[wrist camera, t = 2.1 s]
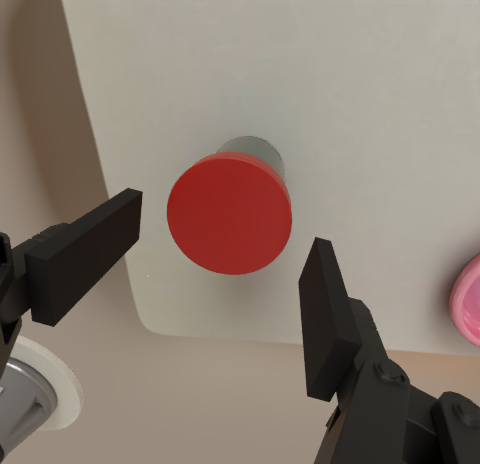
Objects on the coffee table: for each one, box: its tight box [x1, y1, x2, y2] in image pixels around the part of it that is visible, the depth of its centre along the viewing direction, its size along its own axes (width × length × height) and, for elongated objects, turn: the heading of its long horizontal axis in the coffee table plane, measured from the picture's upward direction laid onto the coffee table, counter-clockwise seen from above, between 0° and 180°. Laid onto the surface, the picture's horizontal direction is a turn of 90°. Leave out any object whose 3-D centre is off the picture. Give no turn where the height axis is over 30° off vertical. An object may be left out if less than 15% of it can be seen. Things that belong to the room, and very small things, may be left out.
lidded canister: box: [216, 136, 285, 184], centre depth 22 cm, size 7×7×11 cm
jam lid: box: [167, 151, 292, 275], centre depth 18 cm, size 7×7×2 cm
